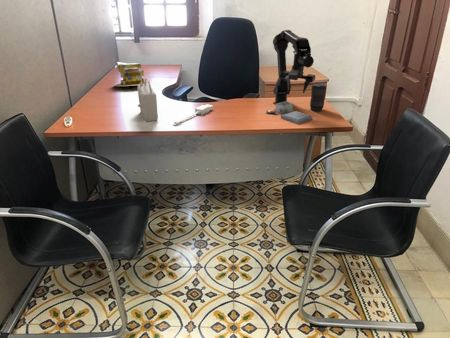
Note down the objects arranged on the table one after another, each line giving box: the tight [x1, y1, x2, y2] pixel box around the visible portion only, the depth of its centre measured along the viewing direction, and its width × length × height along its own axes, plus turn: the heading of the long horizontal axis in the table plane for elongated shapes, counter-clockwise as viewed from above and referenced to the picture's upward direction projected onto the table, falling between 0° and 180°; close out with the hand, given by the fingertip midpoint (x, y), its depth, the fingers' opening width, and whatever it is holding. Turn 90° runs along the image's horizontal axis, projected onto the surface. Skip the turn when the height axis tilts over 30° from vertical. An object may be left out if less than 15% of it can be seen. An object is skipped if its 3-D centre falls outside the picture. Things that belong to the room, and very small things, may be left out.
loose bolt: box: [265, 108, 277, 115], centre depth 197 cm, size 5×3×3 cm, turn 74°
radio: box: [137, 68, 159, 122], centre depth 187 cm, size 22×8×25 cm, turn 21°
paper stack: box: [112, 61, 148, 89], centre depth 245 cm, size 25×25×17 cm
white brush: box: [172, 104, 214, 126], centre depth 192 cm, size 5×32×3 cm, turn 147°
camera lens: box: [309, 82, 327, 112], centre depth 201 cm, size 8×8×15 cm
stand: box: [280, 110, 313, 125], centre depth 190 cm, size 12×12×2 cm
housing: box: [275, 100, 294, 115], centre depth 199 cm, size 6×8×5 cm
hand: (295, 91), depth 193 cm, fingers open, 9 cm apart
